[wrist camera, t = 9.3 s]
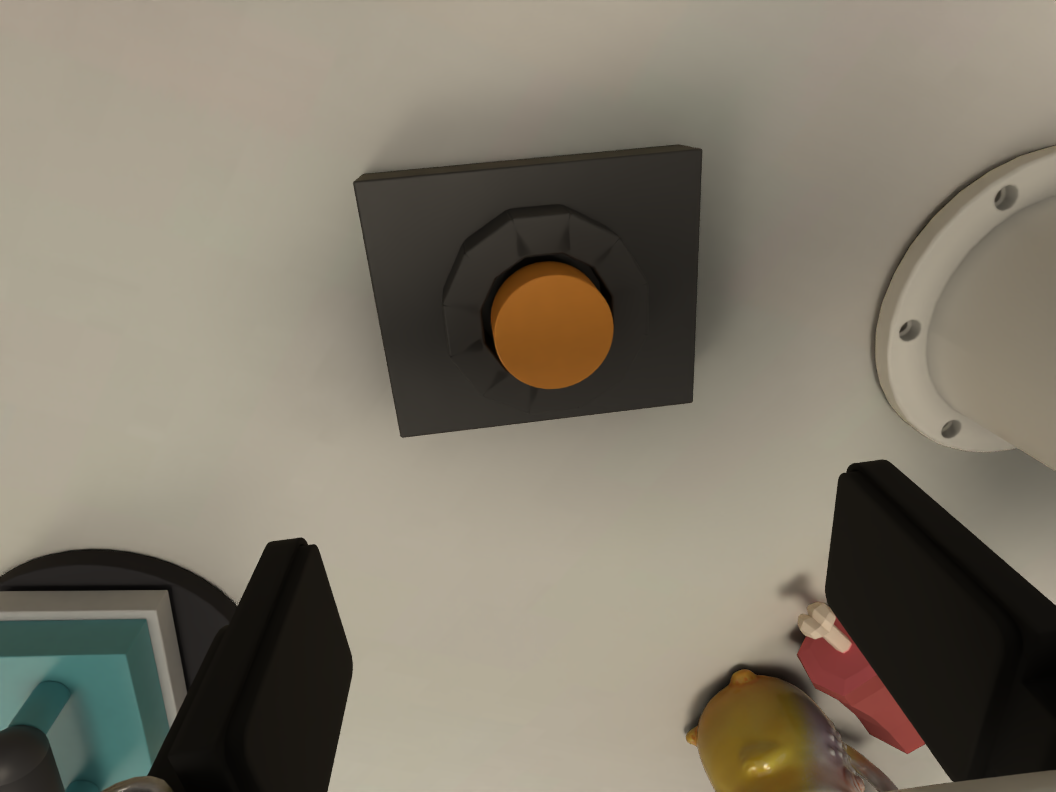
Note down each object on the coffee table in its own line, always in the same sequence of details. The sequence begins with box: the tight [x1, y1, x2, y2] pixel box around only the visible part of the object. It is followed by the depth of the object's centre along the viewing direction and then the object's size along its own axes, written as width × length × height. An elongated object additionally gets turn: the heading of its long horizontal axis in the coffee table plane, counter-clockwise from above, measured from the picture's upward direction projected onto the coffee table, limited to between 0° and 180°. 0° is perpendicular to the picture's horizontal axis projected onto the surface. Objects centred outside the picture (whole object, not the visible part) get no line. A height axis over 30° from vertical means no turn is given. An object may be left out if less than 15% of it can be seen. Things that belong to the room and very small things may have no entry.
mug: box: [686, 669, 898, 792], centre depth 32 cm, size 12×7×7 cm, turn 61°
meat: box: [797, 602, 925, 754], centre depth 31 cm, size 12×5×5 cm
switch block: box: [353, 145, 702, 438], centre depth 22 cm, size 11×9×4 cm
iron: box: [0, 590, 187, 792], centre depth 25 cm, size 12×6×6 cm, turn 175°
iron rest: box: [0, 550, 237, 693], centre depth 28 cm, size 12×12×1 cm
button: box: [491, 261, 614, 389], centre depth 20 cm, size 4×4×2 cm
